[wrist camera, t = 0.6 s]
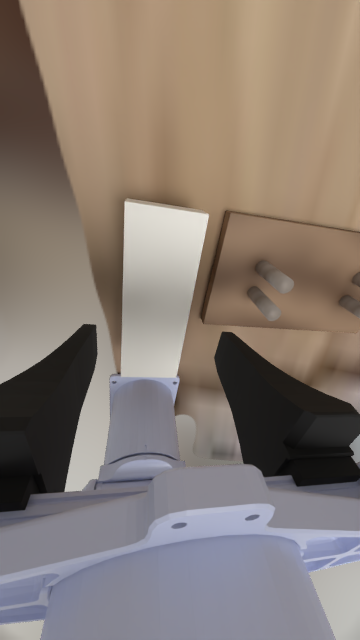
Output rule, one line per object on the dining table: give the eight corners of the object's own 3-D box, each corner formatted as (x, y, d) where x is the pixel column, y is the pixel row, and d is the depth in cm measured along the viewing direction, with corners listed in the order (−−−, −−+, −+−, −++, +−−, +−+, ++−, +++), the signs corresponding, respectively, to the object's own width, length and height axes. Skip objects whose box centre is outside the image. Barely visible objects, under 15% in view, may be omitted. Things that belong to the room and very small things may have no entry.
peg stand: (348, 327, 27) (388, 357, 22) (200, 317, 23) (213, 350, 19) (405, 239, 21) (472, 256, 17) (226, 210, 18) (251, 222, 14)
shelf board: (174, 362, 23) (176, 377, 21) (122, 361, 22) (120, 377, 20) (202, 210, 15) (209, 214, 14) (127, 198, 15) (124, 201, 13)
